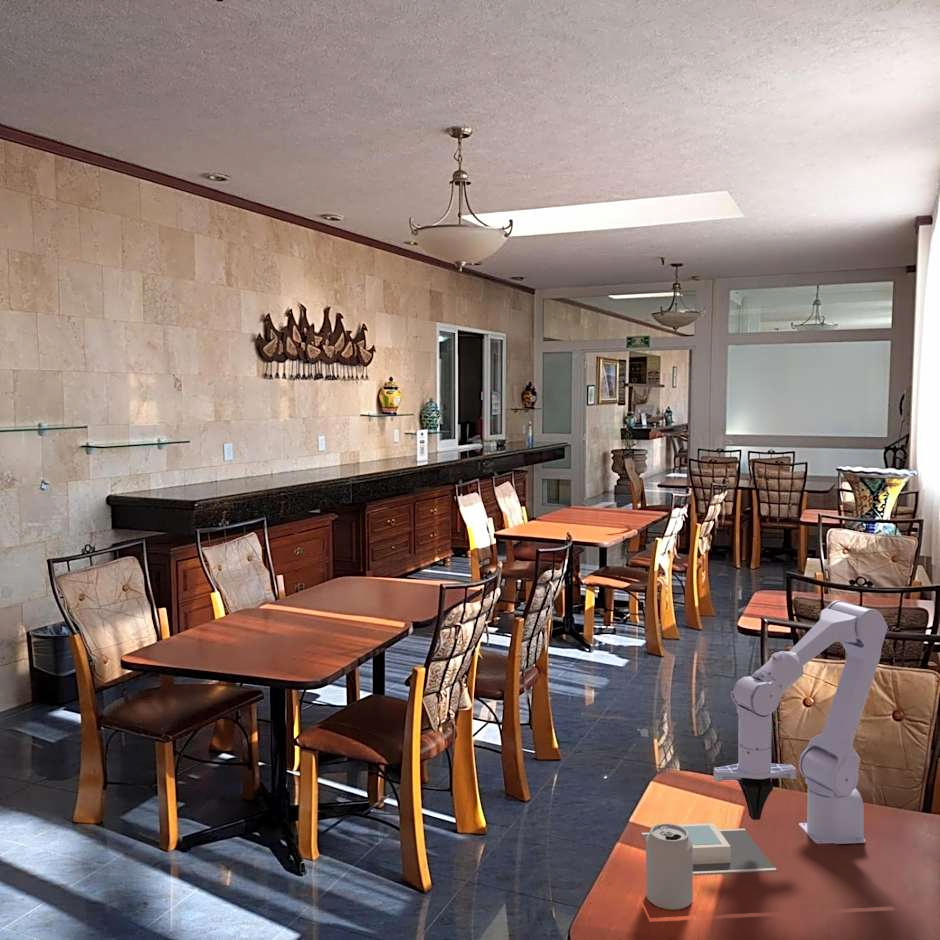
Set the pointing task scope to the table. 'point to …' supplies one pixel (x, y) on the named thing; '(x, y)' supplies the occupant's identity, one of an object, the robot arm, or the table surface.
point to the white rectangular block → (708, 844)
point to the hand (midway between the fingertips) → (754, 817)
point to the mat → (736, 856)
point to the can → (669, 867)
